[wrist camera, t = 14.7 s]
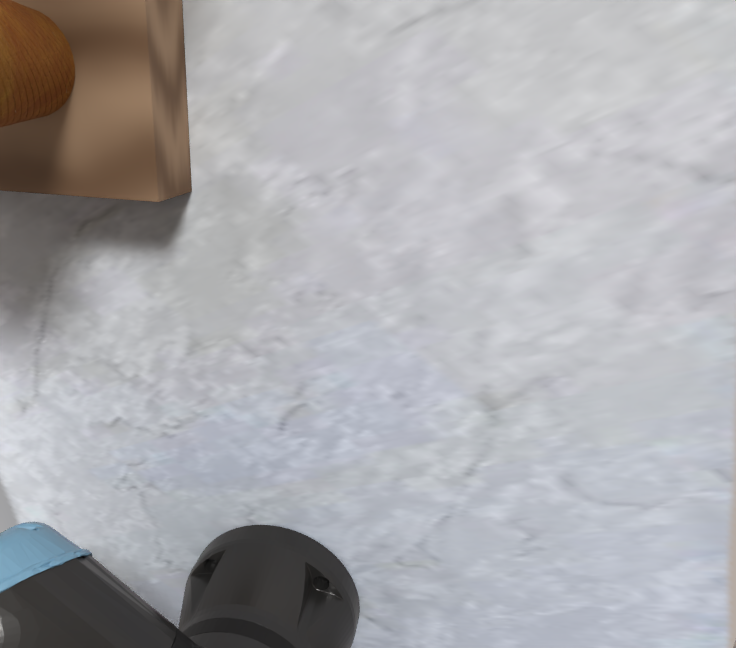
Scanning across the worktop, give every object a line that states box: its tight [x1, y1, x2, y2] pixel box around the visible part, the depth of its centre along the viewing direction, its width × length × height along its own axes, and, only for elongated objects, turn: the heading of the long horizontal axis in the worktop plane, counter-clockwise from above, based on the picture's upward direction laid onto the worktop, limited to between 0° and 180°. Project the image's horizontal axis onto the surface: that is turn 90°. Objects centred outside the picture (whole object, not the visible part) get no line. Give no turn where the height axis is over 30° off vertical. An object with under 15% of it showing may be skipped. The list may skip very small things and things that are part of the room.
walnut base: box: [0, 0, 192, 202], centre depth 42 cm, size 16×16×5 cm
